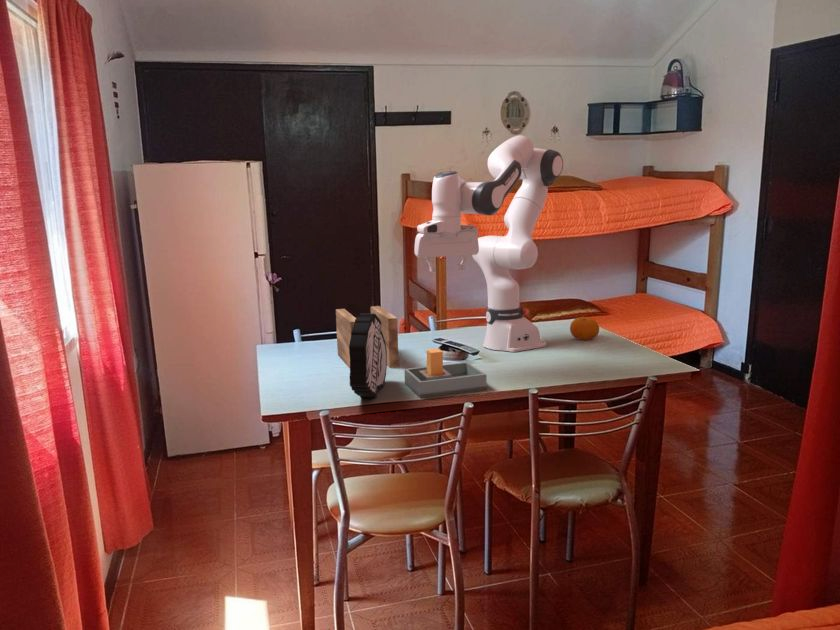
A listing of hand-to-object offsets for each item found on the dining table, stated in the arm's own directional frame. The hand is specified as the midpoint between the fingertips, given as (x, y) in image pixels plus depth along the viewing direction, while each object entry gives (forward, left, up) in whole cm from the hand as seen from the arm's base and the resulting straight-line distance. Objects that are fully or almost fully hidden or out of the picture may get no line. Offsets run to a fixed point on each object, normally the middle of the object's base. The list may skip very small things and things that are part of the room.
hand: (447, 270), depth 207 cm
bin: (+8, +18, -31) cm, 37 cm away
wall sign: (+30, +17, -31) cm, 47 cm away
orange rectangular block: (+11, +18, -30) cm, 37 cm away
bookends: (+22, -18, -31) cm, 42 cm away
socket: (+11, +18, -31) cm, 38 cm away
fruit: (-60, -16, -31) cm, 70 cm away
